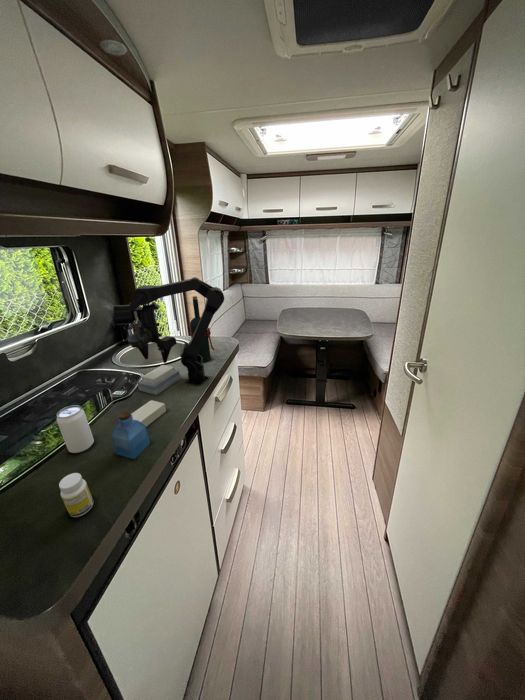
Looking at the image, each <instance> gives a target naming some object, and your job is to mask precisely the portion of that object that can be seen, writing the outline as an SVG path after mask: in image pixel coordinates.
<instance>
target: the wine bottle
mask: <svg viewBox="0 0 525 700" xmlns="http://www.w3.org/2000/svg"><path fill="white" fill-rule="evenodd" d="M192 305H193V306H192V307H193V314H194V317H193V318H192V319H191V320H190V323H189V328H190V329H189V331H190V337H191V339H192V337H193V334H194V332H195V330H196V327H197V325H198V323H199V320H200V318H201V316H200V315H201V314H200V308H199V299H198V295H193V296H192ZM211 333H212V332H211V328H210V326H208V329H207V331H206V333H205V335H204V338H203V340H202V342H201V344H200V347H199V352H198V355H200V356H201V357H202V364H205V363H207V362H210V361H211V360H212V357H211V349H212V351H213V352H215V348H214V346H213V343H212V339H211ZM191 339H190V340H191Z"/></svg>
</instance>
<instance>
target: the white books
mask: <svg viewBox="0 0 525 700" xmlns="http://www.w3.org/2000/svg"><path fill="white" fill-rule="evenodd" d="M166 412H167V408H166V404H165V403H164V402H161V401H160V402H159V401H156V400H153V399H150V400H149V401H148V402H146V403H145V404H143V405H142V406H140V407H139V408H138V409H136V410H135V411H133V412H132V413H131V414H132V417H133V420H138V421H139V422H141V423H142V424H144V425H145V426H146V428H147V427H149V425H151V424H152V423H154V422H155V420H157V419H158V418H159V417H161V416H162V415H163V414H165V413H166Z"/></svg>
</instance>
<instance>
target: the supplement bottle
mask: <svg viewBox="0 0 525 700" xmlns="http://www.w3.org/2000/svg"><path fill="white" fill-rule="evenodd" d="M58 487H59V490H60V497H61V499H62V501H63V504H64V506H65V508H66V511H67V512H68V515H69V516H70V517H73V518H79V517H82V516H84V515H85V514H87V513H88V512H90V510H91V509H92V508H93V506H94V498H93V496H92V493H91V491H90V488H89V485H88V483H87V481H86V480H85V479H83V477H82V475H81V473H79V472H73V473H69V474H67V475H66V476H64V477H63V478H61V480H60V481H59V483H58Z"/></svg>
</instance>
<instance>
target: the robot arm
mask: <svg viewBox="0 0 525 700" xmlns="http://www.w3.org/2000/svg"><path fill="white" fill-rule="evenodd" d="M191 291H195V292H196V293H198V294H200V295H201V296H202V297H203V298H205V299H206V300H205V305H204V309H203V310H202V311H203V312H202V314H201V316H200V317H201V318H200V320H199V323H198V325H197V327H196V330H195V332H194V334H193V337H192V339H190V340H189V342H188V343H187V342H184V343H183V347H182V349H181V350H180V355H179V357H180V363H181V364H182V366H183V367H185V368H186V369H187V378H188V379H187V380H186V383H187V384H192V385H197V386H201V385H202V384H203V383H204V382H205V381H207V380H208V379H209V376H207V375H206V374H205V366H204V363H202V357H201V356H200V355H198V352H199V347H200V344H201V342H202V340H203V338H204V335H205V333H206V331H207V330H208V328H209V327H210V324H211V322H212V320H213V318H214V315H215V314H216V313H217V311H218V310H220V308H221V307H222V305H223V304H224V301H225V294H224V292H223V290H222V289H221V288H220V287H217V286H213V285H212V286H211V284H209V283H206V282H205V281H203V280H201V279H200V278H198V277H196V276H194V277H191V278H189V279H183V280H179V281H175V282H170V283H169V282H168V283H165V284H160V285H154V284H153V285H151V284H150V285H149V284H148V285H140V286H138V287H137V288H135V289H134V290H133V292H132V294H131V298H132V299H131V301H130V302H129V304H115V305H113V307H112V308H113V317H112V318H113V321H114V324H115V325H117V326H120V325H121V326H122V325H133V324H135V323H136V321H138V323H139V325H138V326H137V327H136V329H137V331H136V332H134V333H132V334H129V335H128V337H127V343H128V344H129V345H130V346H131V347H132V349H134V348H135V349H138V350H139V352H140V354H141V356H142V357H143V359H145V360H148V359H149V343H152V344H156V347H157V350H158V351H159V352H160V355H161V359H162V362H163V364H166V363H167V362H168V359H169V356H170V353H171V350H172V348H173V347H174V346H176V345H177V338H176V337H174V336H170V335H169V336H168V335H165V336H164V337H162V333H160V332H159V328H158V327H160V326H161V325H160V322H157V318H156V311H158V310H159V309H160V307H161V306H160V305H159V304H157V303H155V301H157V300H159V299H162V298H165V297H169V296H174V295H178V294H182V293H183V294H184V293H186V292H191ZM141 306H142V307H141ZM161 337H162V338H161Z"/></svg>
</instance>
